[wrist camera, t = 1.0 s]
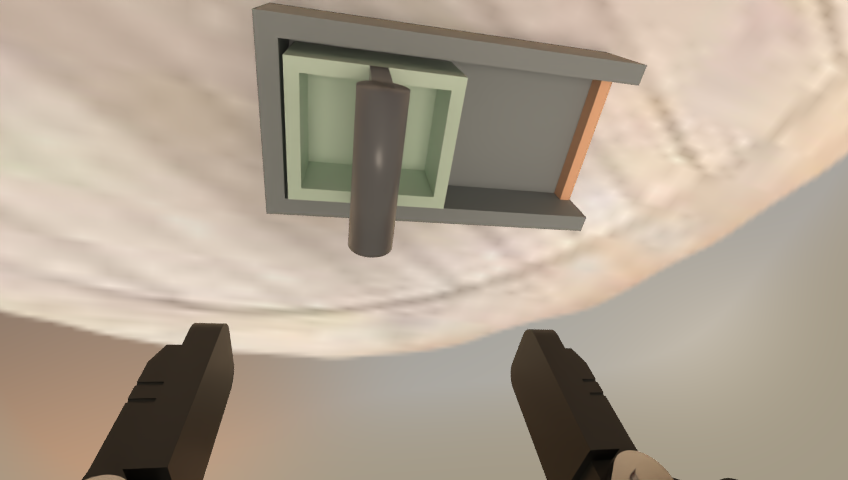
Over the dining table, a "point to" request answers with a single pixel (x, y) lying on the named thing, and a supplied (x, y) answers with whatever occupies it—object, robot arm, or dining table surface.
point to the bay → (480, 118)
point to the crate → (370, 134)
